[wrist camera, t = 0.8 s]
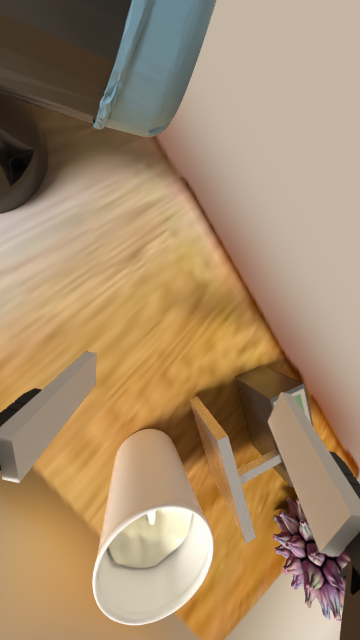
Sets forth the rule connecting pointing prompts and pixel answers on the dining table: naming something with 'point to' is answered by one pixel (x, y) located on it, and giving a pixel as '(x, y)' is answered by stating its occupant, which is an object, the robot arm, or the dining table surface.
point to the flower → (310, 561)
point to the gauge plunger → (231, 467)
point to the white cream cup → (150, 534)
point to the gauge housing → (267, 405)
